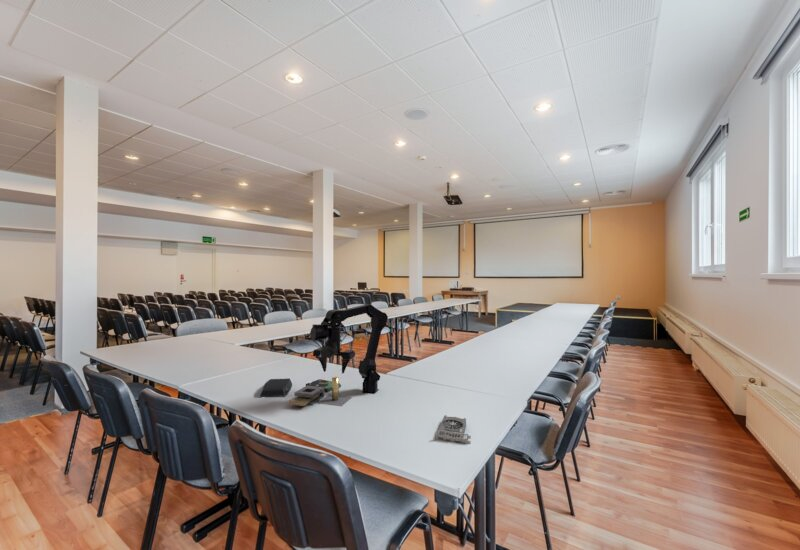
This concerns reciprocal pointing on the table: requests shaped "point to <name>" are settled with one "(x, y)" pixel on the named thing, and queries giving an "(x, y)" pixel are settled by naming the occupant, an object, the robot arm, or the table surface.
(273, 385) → the external hard drive
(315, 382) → the disk drive
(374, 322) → the robot arm
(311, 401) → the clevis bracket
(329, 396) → the rubber mat
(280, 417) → the table surface
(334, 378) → the brass pin
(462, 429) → the graphics card
